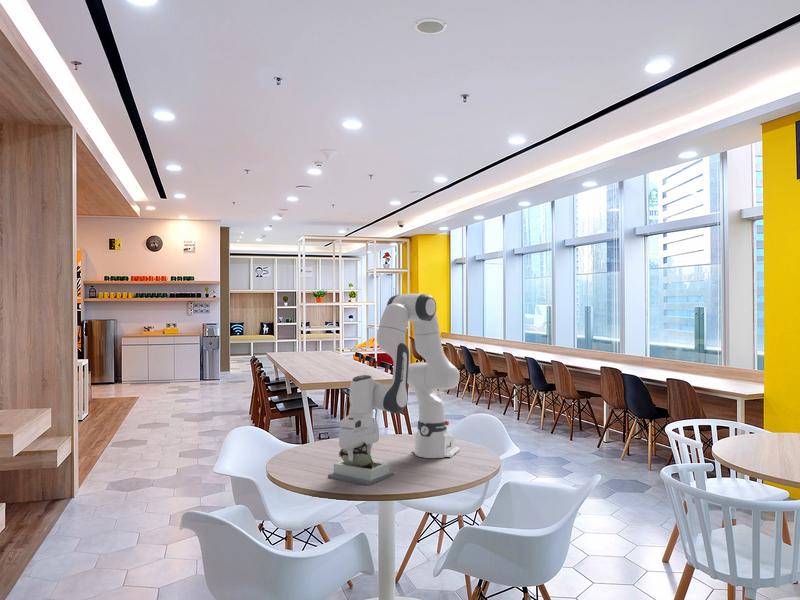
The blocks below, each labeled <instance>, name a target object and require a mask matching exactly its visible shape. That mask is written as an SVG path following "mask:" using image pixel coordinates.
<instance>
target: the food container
mask: <svg viewBox="0 0 800 600" xmlns="http://www.w3.org/2000/svg"><path fill="white" fill-rule="evenodd" d="M363 443H364V444H363V445H362V446H360V447H357V448H354V451H353V455H355V460H353V461H349V455H348V453H347V450H344V449H341V448H340V450H339V452H338V457H339V458H341V459H342V461H344V462H345V464H346V465H351V466H356V467H361V468H367V469H372V468H374V464H373V461H374V460H373V458H372V455H371V454H372V453H371V452H372V449H371V450H370V447H369V446H368V445H367V444H366V443H365V442H363Z"/></svg>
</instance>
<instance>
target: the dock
mask: <svg viewBox="0 0 800 600" xmlns="http://www.w3.org/2000/svg"><path fill="white" fill-rule="evenodd" d="M372 461H373V464H374V468H372V469H367V468H361V467H356V466H351V465H346V464H345V462H344V461H343V460H340V461H337V462H335V463H333V472H332V473H329V474H327V477H328V478H329V477H330V479H333V478H334V479H335V480H339V481H344V482H349V483H353V484H357V485H363V486H366V485H367V486H366V487H369V486H371V485H373V484H376V483H378V482H380V481H383V480H385V479H386V478H389V476H390V477H391V476H393V475H394V471H390V469H389V466H390V465H389V463H386V462H381V461H375V460H372Z"/></svg>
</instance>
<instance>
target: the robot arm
mask: <svg viewBox="0 0 800 600" xmlns="http://www.w3.org/2000/svg"><path fill="white" fill-rule="evenodd" d="M436 312H437V303H436V300H435V299H434V297H433V296H432V295H430V294H427V293H406V294H395V295H393V296H391V297H390V298H389V299H388V301H387V303H386V307H385V309H384V311H383V312H382V315H381V318H380V320H379V324H378V325H379V326H378V329H377V334H376V343H377V345H378V347H379V348H380V350H382V351H383V352H384V353H385V354H387V355H388V356H390V357H391V359H392V362H393V368H392V369H393V370H392V381H391V384H385V383H380V382H378V381H376V380H374V379H373V377H372V376H371V375H368V374H367V375H366V374H364V375H357V376H354V377H353V378H352V380H351V382H350V386H349V398H348V399H349V408H348V409H349V410H348V415H346V416H345V417H344V418H343V419H341V420H340V421H339V426H340V429H339V437H338V444H339V448H340V450H341V449H344V450H347V453H348V455H349V461H353V460H355V455H353V451H354V448H357V447H360V446H362V445H363V444H364V443H363V442H365V443H366V444H367V445H368V446H369V447H370V450H371V451H372V448H373V444H374V443H378V442H379V440H380V429H379V428H380V427H379V424H378V420H377V418H376V417H373V415H374V411H373V409H374V410H379V411H384V412H385V411H386V412H388V413H391V414H399V413H400V412H402V411H403V410H404V409H405V408H406V406H407V404H408V401H409V395H408V394H409V393H408V385H409V386H410V388H412V390H413V392H414V395H415V396H416V400H417V406H418V421H417V431H416V433H415V438H414V448H412V453H413V454H414V455H415V456H417V457H420V458H424V459H441V458H443V459H444V457H450V458H452V457H454V456H455V455H456V454H457V453H459V451H461V449H460V447H458V446H456V445H455V436H453V435H452V434H451V433H450V432H449V430H448V429H447V426H449V425H450V421H449V420H445V410H446V409H445V408H446V407H445V402H444V401H443V399H441V398H440V397H439V396H438V395H437V393H436V391H435V390H441V391H445V390H451V389H455V388H457V386H458V384H459V382H460V376H461V375H460V371H459V369H458V368H457V367H456V366H455V365H454V364H452V363H451V362H450V360H449V359H448V357H447V356H446V353H445V352H444V349H443V347H442V346H443V345H442V339H441V333H440V331H441V330H440V326H439V321H438V317H437V313H436ZM408 322H412V327H413V328H412V329H413V337H414V338H413V339H414V347H415V351H416V352H417V354H419V356H421V357H422V358H423V359H424V360H425V362H424V361H423V362H421V361H419V362H418V361H417V362H413V363H410V351H409V347H408V346H407V344H406V343H407V342H406V336H407V335H406V334H407V330H408ZM455 453H456V454H455ZM454 454H455V455H454Z"/></svg>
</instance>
